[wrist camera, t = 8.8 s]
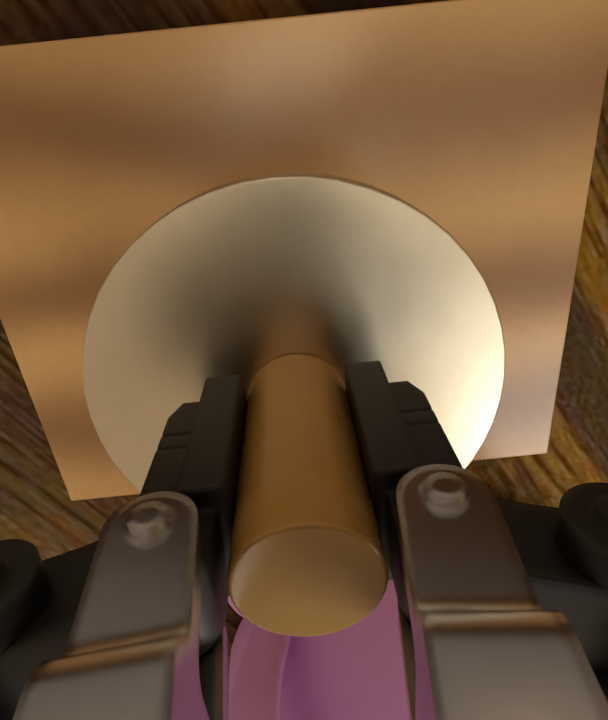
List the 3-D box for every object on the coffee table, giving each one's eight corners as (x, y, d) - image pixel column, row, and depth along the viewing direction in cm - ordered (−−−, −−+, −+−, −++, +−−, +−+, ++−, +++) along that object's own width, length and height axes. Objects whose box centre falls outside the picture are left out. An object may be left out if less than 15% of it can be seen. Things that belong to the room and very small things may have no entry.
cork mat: (-89, 58, 14) (-104, 55, 14) (609, -13, 14) (622, -18, 14) (76, 491, 21) (70, 501, 21) (540, 445, 21) (547, 454, 21)
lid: (44, 193, 10) (-240, 287, 5) (502, 146, 10) (769, 183, 5) (149, 531, 14) (67, 795, 9) (474, 499, 14) (597, 743, 9)
